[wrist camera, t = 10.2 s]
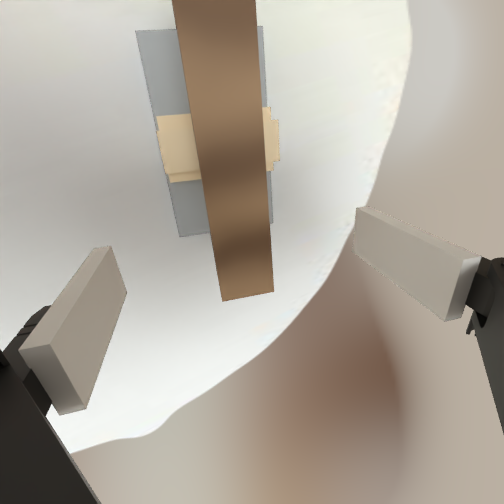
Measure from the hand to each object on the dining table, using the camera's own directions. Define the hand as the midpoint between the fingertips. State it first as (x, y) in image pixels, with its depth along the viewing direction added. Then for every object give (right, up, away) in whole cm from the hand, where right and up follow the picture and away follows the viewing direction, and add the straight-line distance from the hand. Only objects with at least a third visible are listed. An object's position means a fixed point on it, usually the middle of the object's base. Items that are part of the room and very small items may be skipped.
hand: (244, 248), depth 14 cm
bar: (-2, +7, +6) cm, 10 cm away
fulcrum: (-3, +10, +11) cm, 16 cm away
